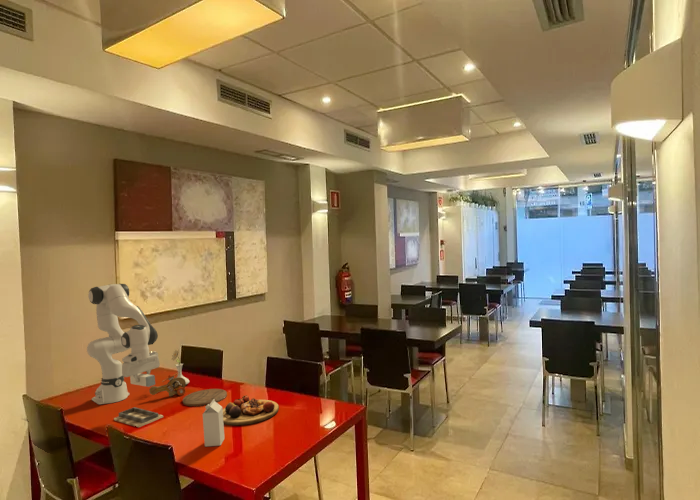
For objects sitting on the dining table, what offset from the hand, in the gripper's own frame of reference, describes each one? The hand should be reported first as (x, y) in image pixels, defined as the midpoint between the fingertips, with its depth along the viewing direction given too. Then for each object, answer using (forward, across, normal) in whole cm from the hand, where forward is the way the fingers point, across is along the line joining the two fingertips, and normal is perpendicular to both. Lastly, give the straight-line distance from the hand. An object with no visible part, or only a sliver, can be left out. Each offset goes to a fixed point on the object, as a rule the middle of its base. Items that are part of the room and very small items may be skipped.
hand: (142, 380), depth 235 cm
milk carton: (+20, +7, +63) cm, 67 cm away
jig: (+20, +4, 0) cm, 20 cm away
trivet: (+20, -32, +11) cm, 39 cm away
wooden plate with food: (+21, -25, +53) cm, 62 cm away
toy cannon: (+20, -26, -14) cm, 36 cm away
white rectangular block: (+2, 0, 0) cm, 2 cm away
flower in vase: (+20, -42, -26) cm, 53 cm away
